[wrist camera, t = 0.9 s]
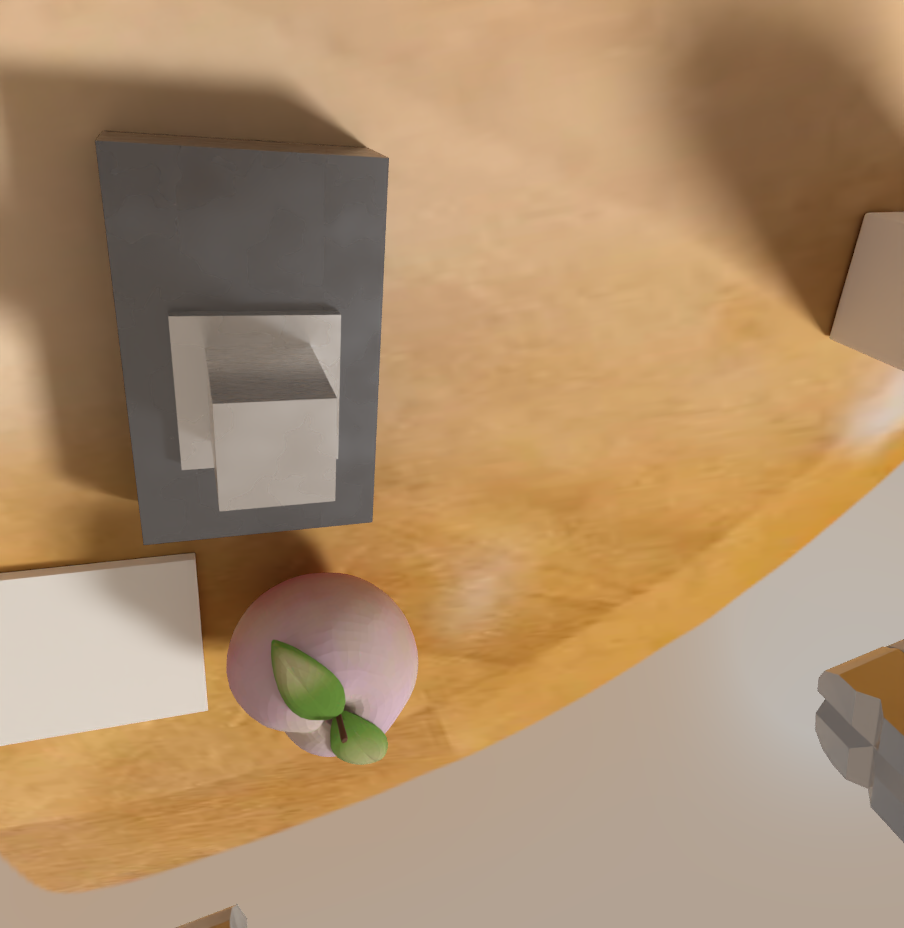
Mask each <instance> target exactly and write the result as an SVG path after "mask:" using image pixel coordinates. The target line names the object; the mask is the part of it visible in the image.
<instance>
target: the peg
mask: <svg viewBox="0 0 904 928" xmlns="http://www.w3.org/2000/svg"><path fill="white" fill-rule="evenodd" d="M168 320H169V331H170V342H171V354H172V365H173V377H174V388H175V399H176V411H177V422H178V434H179V445H180V456H181V468H182V470H191V469H205V468H214V471H215V480H216V488H217V496H218V504H219V511H230V510H241V509H252V508H264V507H275V506H286V505H297V504H308V503H319V502H330V501H335V490H336V459H338V446H339V397H340V348H341V314H340V312H339V311H338V310H327V311H193V312H168Z"/></svg>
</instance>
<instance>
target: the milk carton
mask: <svg viewBox="0 0 904 928" xmlns="http://www.w3.org/2000/svg"><path fill="white" fill-rule="evenodd" d="M830 339H832V340H834V341H836V342H838V343H841V344H843V345H845V346H847V347H850V348H852V349H854V350H857V351H859V352H861V353H863V354H866V355H868V356H870V357H873V358H875V359H877V360H880V361H882V362H884V363H886V364H889V365H891V366H893V367H896V368H898V369H900V370H902V371H904V212H873V213H866V214H865V216H864V220H863V223H862V226H861V230H860V233H859V237H858V240H857V243H856V247H855V250H854V254H853V257H852V261H851V264H850V268H849V271H848V274H847V278H846V281H845V285H844V288H843V292H842V295H841V299H840V302H839V306H838V309H837V313H836V316H835V320H834V323H833V327H832V330H831V334H830Z"/></svg>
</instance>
